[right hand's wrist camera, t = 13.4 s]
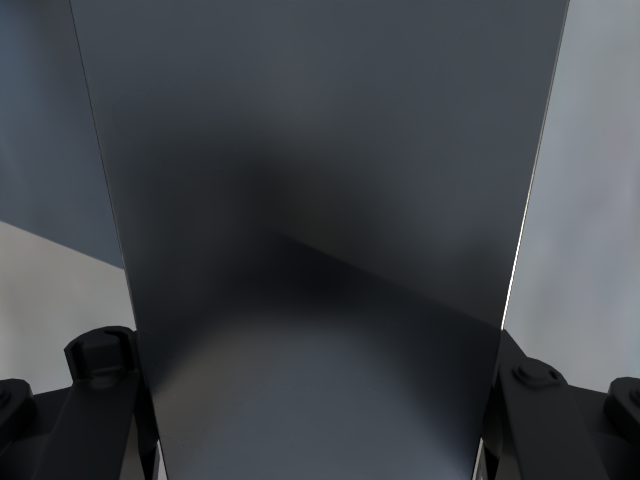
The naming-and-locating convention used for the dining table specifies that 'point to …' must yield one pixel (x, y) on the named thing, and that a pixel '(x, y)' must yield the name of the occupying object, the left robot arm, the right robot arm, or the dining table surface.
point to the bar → (319, 220)
